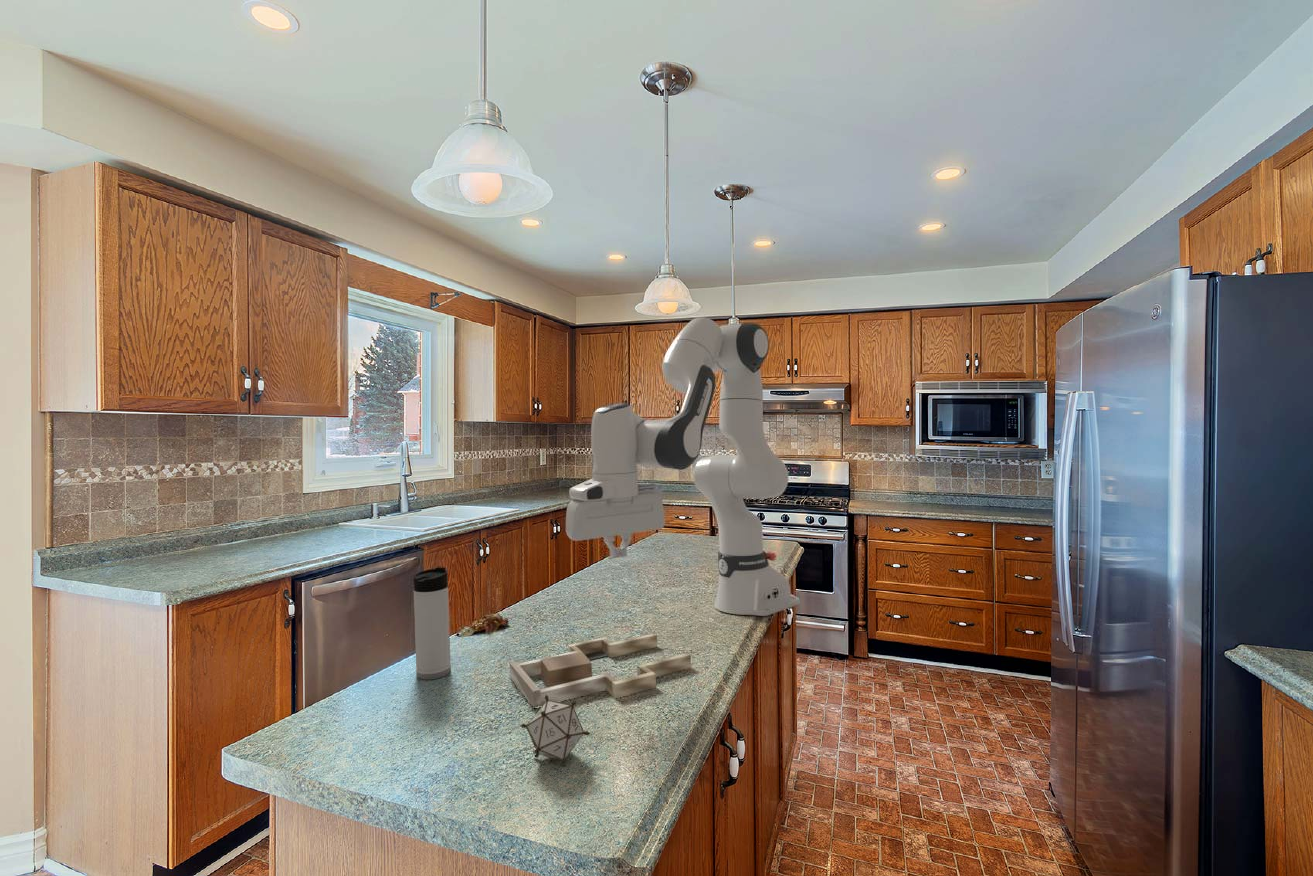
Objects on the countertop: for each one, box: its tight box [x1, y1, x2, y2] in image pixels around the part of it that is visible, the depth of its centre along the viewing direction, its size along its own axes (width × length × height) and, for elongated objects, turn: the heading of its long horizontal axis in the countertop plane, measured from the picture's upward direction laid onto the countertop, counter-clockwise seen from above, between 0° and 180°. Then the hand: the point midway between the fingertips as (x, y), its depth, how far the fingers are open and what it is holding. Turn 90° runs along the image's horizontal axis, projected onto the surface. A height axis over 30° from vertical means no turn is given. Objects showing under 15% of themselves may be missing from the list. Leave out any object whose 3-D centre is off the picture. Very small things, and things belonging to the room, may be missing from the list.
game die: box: [520, 695, 591, 765], centre depth 84 cm, size 9×8×10 cm
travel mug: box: [413, 566, 452, 681], centre depth 115 cm, size 6×7×20 cm
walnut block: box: [540, 652, 593, 688], centre depth 110 cm, size 8×6×4 cm
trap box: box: [509, 633, 692, 709], centre depth 113 cm, size 31×22×3 cm
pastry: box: [455, 612, 510, 638], centre depth 140 cm, size 7×12×4 cm, turn 138°
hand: (618, 557), depth 116 cm, fingers closed
